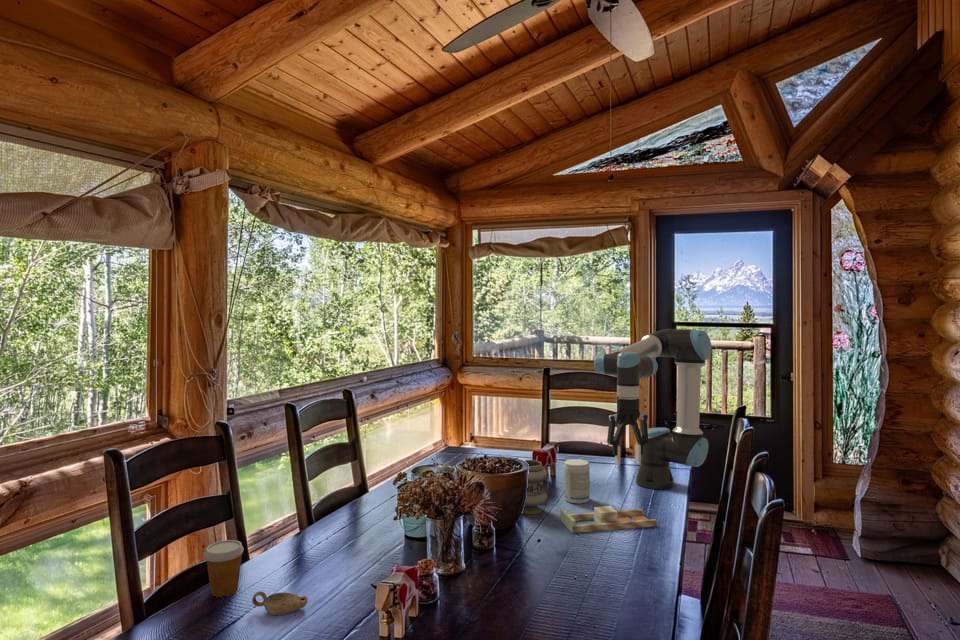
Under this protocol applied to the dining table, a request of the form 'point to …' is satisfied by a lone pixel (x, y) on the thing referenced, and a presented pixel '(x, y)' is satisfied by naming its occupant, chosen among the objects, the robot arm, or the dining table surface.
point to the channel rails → (612, 524)
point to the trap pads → (639, 517)
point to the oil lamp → (280, 602)
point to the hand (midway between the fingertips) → (627, 464)
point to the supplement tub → (576, 481)
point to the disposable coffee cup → (224, 566)
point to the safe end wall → (567, 520)
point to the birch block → (605, 514)
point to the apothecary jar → (535, 489)
